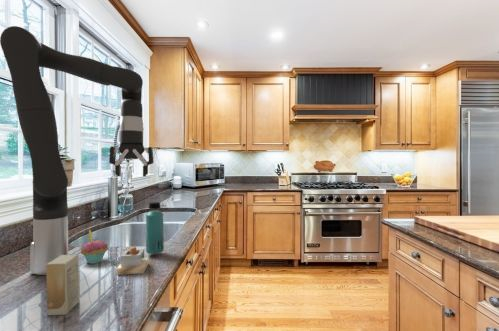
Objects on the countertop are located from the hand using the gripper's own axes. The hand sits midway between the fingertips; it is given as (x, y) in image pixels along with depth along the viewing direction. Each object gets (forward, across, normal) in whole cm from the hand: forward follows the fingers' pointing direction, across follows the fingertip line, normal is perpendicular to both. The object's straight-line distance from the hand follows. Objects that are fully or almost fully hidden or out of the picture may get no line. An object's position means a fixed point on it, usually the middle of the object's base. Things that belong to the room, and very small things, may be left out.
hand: (131, 176), depth 99 cm
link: (+28, +2, -8) cm, 29 cm away
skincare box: (+30, -9, -31) cm, 44 cm away
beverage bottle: (+30, +7, +5) cm, 31 cm away
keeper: (+30, +2, -8) cm, 31 cm away
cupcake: (+30, -13, +2) cm, 33 cm away
